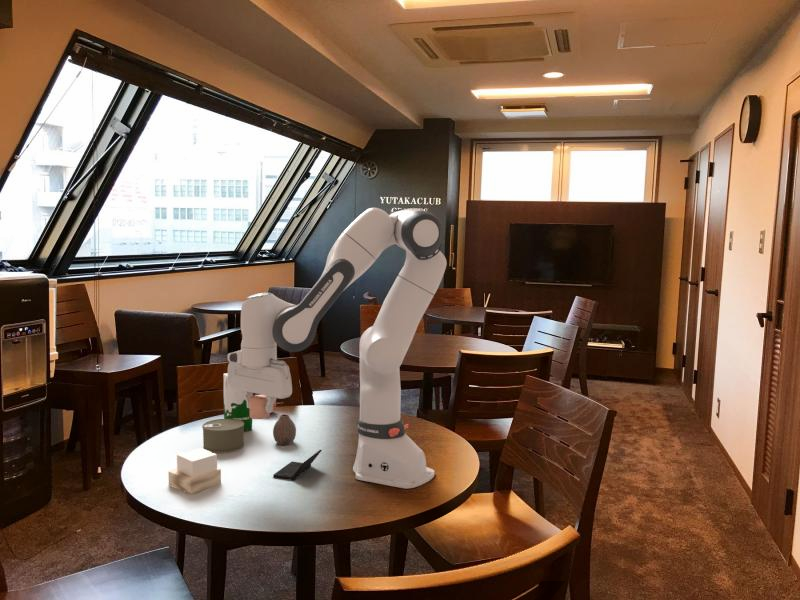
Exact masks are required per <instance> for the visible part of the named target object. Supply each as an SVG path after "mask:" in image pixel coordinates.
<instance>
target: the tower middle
mask: <svg viewBox="0 0 800 600" xmlns="http://www.w3.org/2000/svg"><path fill="white" fill-rule="evenodd" d="M217 468H218V453H212V452H210V451H208V450H205V449H204V448H202V447H200V448H196V449H193V450H189V451H186V452H185V451H184V452H182V453H178V454H176V469H177V470H178V471H180V472H182V473H185V474H187V475H189V476H191V477H195V476H198V475H201V474H204V473H208V472H211V471H214V470H217Z"/></svg>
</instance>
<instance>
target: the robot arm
mask: <svg viewBox="0 0 800 600" xmlns="http://www.w3.org/2000/svg"><path fill="white" fill-rule="evenodd" d="M442 237H443V227H442V223H441V221H440V219H439V218H438V217H436V215H434V214H433V213H432V212H430V211H426V210H423V209H420V208H417V207H416V208H409V207H405V208H399V209H398V208H397V209H396V210H393V211H391V212H388V213H387V212H386V211H385V210H384V209H381V208H379V207H369V208H367V209H366V210H365V211H362V213H361V214H359V215H358V216H357V217H356V218H355V219H354V220H353V221H351V223H350V224H348V226H347V227H346V228H345V229H344V230H343V232H341V234H340V235H339V236H338V238H337V239H336V240H335V242H334V243H333V245H332V247H331V249H330V250H329V253H328V254H327V258H326V262H325V267H324V269H323V271H322V273H321V276H320V277H319V279H318V280H317V281H316V283H315V284H314V285H313V286H312V288H311V289H310V290H309V291H308V292H307V293H306V295H305V296H304V297H303V298H302V300H301V301H300V302H299V303H298V304H294V303H290V302H287V301H285V300H284V299H281V298H279V297H277V296H276V295H275V294H273V293H272V292H259V293H254V294H252V295H248V296H247V297H246V298H245V299H244V300H243V301H242V303H241V307H240V308H241V310H240V331H241V335H242V337H241V338H242V340H241V343H240V350H237V351H234V352H233V351H232V352H229V353H228V354H227V355H226V356H227V362H229V363H228V365H227V373H228V384H229V386H230V388H233V389H238V390H242V391H243V395H244V397H245V400H246V401H247V408H250V399H249V398H250V397H251V396H252V394H255V395H265V396H267V400H268V402H267V405H264V412H267V413H270V414H271V413H273V412H274V410H273V405H274V403H275V401H276V402H277V399H280V400H281V399H283V400H284V399H286V398H289V397H291V396H292V393H293V384H292V375H291V372H290V366H289V365H288V364H287V363H286V361H284V360H279V359H278V355H277V354H278V353H277V352H278V351H277V350H278V349H277V347H279V348H280V349H282V350H284V351H286V352H289V353H297V352H301V351H304V350H306V349H307V348H309V347H310V346H311V344H312V343H313V341H314V339H315V336H316V333H317V328H318V326H319V323H320V321H322V318H323V317H324V315H325V314H326V313H327V312H328V310H329V309H330V308H331V307H332V306H333V304H334V303H335V302H336V301H337V300H338V298H339V296H341V294H342V293H343V292H344V291H345V290H346V289H347V288H348V287H350V285H352V284H353V283H354V282H355V281H356V280H358V279H359V278H360V277H361V276H362V275H364V273H366V272H367V271H368V269H370V267H371V266H372V265H373V264H374V263H375V262H376V260H377V259H378V258H379V257H380V256H381V254H382V253H383V252H384V251H385V250H386V249H388V248H389V247H391V246H393V245H394V246H396V247H399V248H401V249H403V250H404V251H405V261H404V264H403V266H402V268H401V270H400V271H399V273H398V275H397V276H396V278H395V280H394V282H393V284H392V286H391V288H390V289H389V290H388V293H387V295H386V297H385V298H384V300H383V303H382V305H381V307H380V310H379V311H378V314H377V317H376V318H375V321H374V323H373V325H372V326H369V327H368V328H367V329H366V330H365V331H364V332H363V333H362V334H361V336H360V339H359V417H358V419H357V433H358V444H357V450H356V456H355V460H354V463H353V467H352V471H353V472H354V473H355V479H356V480H359V481H364V482H367V483H368V482H370V483H374V484H379V485H384V486H389V487H395V488H400V489H405V490H406V489H413V488H417V487H421V486H423V485H424V484H426V483H428V482H429V481H431V480H432V479H433V478H434V477H435V470H434V469H433V468H430V467H428V466H427V460H426V456H425V452H424V450H422V449H421V448H420V446H418V445H417V444H416V443H415V441H414V440H412V439H411V438H410V437H409V436H408V435H407V433H406V432H407V431H406V429H408V428H409V425H410V424H409V423H405V424H404V422H403V419H402V418H401V405H402V403H401V399H402V398H401V397H402V388H401V375H400V367H401V366H402V364H403V361H404V359H405V356H406V354H407V352H408V350H409V348H410V346H411V344H412V341H413V339H414V336H415V335H416V331H417V329H418V326H419V324H420V322H421V320H422V319H423V318H422V317H423V316H424V315H425V313H426V311H427V309H428V307H429V305H430V304H431V302H432V300H433V298H434V296H435V294H436V293H437V291H438V289H439V286H440V285H441V282H442V280H443V277H444V274H445V271H446V269H447V265H448V263H447V259H446V256H445V254H444V253H442V251H441V249H442V239H443V238H442Z"/></svg>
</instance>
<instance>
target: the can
mask: <svg viewBox="0 0 800 600" xmlns="http://www.w3.org/2000/svg"><path fill="white" fill-rule="evenodd" d="M201 429H202V432H203V433H202V438H203V440H202V441H203V445H202V447H203V449H205V450H208V451H210V452H215V454H226V453H227V454H228V453H233V452H236V451H239V450H242V449H243V447H244V445H245V443H244V442H245V441H244V432H245V431H244V422H243V421H241V420H237V419H224V418H218V419H217V418H216V419H212V420H209V421H206V422H204V423H203V424H202V428H201Z"/></svg>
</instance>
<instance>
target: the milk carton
mask: <svg viewBox="0 0 800 600" xmlns="http://www.w3.org/2000/svg"><path fill="white" fill-rule="evenodd" d="M253 394H254V393H253ZM253 394H252V396H254V395H253ZM223 419H237V420H241V421H243V422H244V432H247V431H252V430H253V419H252V418H250V408H247V401H246V400H245V397H244V395H243V391H242V390H238V389H233V388H230V386H229V384H228V372H226V373H223Z"/></svg>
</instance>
